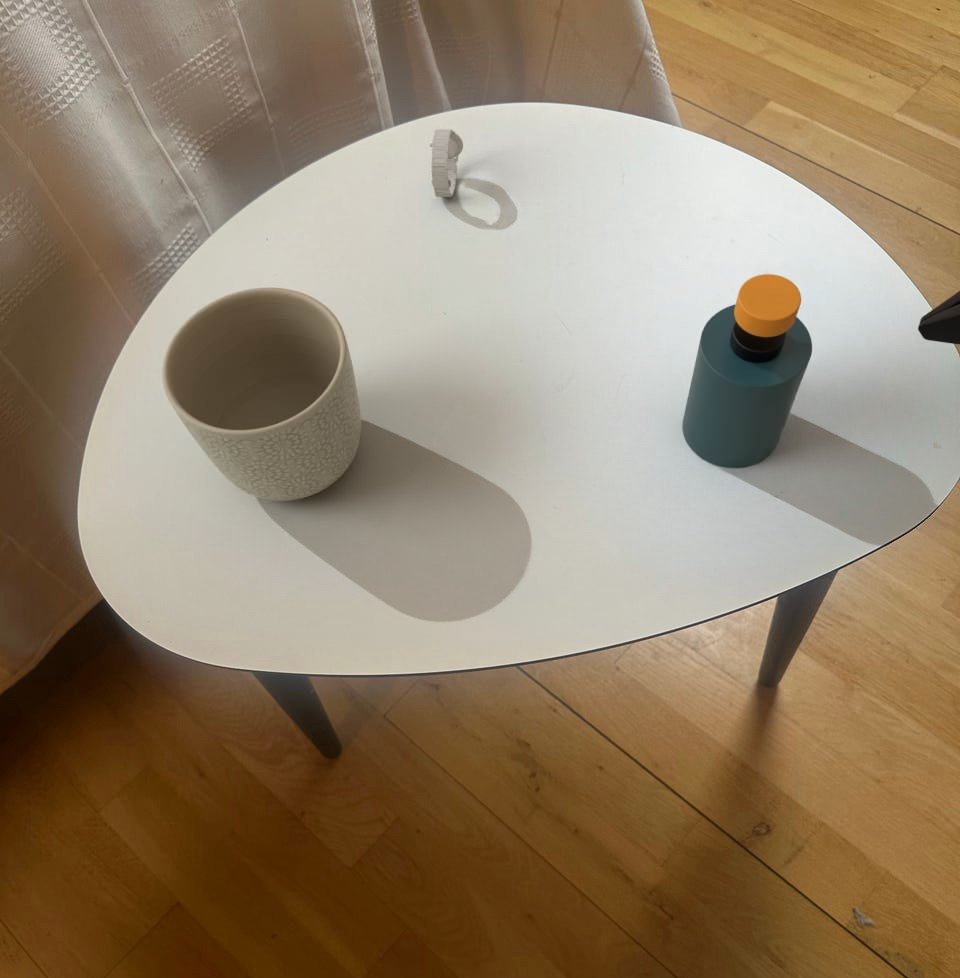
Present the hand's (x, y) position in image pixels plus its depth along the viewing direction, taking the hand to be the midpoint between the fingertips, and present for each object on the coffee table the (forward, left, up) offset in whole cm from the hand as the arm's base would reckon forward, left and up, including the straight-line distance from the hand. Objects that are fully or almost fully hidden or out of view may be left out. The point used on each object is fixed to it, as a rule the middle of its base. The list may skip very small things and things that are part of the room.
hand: (922, 329), depth 53 cm
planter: (+38, +17, -14) cm, 44 cm away
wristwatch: (+41, -13, -14) cm, 45 cm away
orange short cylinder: (+9, +1, -2) cm, 9 cm away
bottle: (+9, +1, -14) cm, 16 cm away
